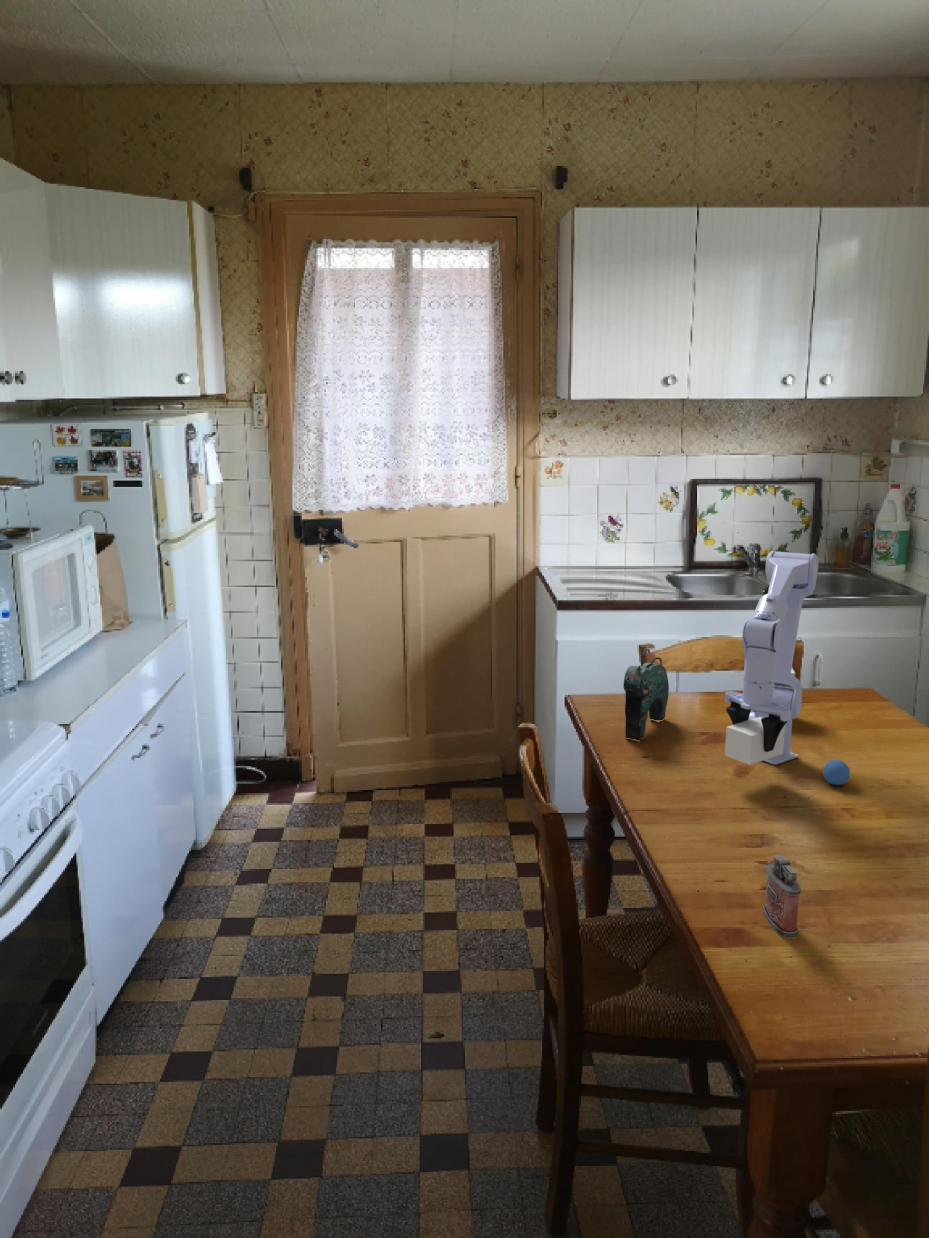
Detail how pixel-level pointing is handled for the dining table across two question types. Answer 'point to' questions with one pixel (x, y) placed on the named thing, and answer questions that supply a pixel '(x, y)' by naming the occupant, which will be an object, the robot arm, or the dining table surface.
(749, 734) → the white cardboard carton
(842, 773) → the ball
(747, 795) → the dining table surface
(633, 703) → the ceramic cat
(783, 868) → the lighter
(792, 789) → the dining table surface
